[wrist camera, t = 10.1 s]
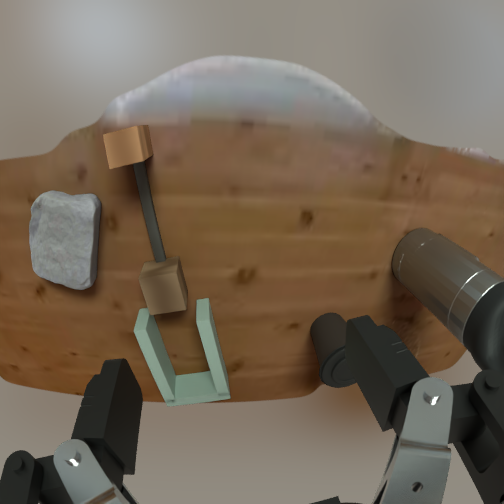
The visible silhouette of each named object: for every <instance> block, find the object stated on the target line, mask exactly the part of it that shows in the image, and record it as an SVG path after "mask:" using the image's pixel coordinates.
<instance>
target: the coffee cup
mask: <svg viewBox="0 0 504 504" xmlns="http://www.w3.org/2000/svg"><path fill="white" fill-rule="evenodd" d="M346 324H347V323H346V322H345V321H344V319H343V318H342V317H341V316H340V315H338V314H336V313H327V314H324V315H321V316H320V317H318V318H317V319H316V320H315V321H314V322H313V324H312V326H311V336H312V340H313V343H314V347H315V350H316V354H317V357H318V361H319V365H320V370H319V376H320V379H321V381H322V382H324V383H325V384H326V385H329V386H331V387H335V388H340V387H346V386H350V385H352V384H354V383H356V380H355V378H354V376H353V374H352V372H351V371H350V369H349V367H348V365H347V362H346V357H345V342H346Z"/></svg>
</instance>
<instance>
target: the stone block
mask: <svg viewBox="0 0 504 504" xmlns="http://www.w3.org/2000/svg"><path fill="white" fill-rule="evenodd" d="M31 214H32V217H31V221H30V226H29V234H30V240H29V242H30V249H31V259H32V265H33V269H34V272H35V273H36V274H37V275H38V276H40V277H42V278H45V279H47V280H49V281H52V282H54V283H59V284H63V285H65V286H67V287H70V288H73V289H77V290H83V289H86V288H89V287H91V286H92V285H93V283H94V281H95V279H96V277H97V256H98V239H99V224H100V214H101V202H100V200H99V199H98V197H97V196H96V195H94V194H82V195H74V196H73V195H68V194H65V193H63V192H58V191H49V192H45V193H43V194H41V195H40V196H39V197H38V198H37V199H36V200H35V201H34V204H33V205H32V207H31Z"/></svg>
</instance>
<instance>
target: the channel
mask: <svg viewBox="0 0 504 504" xmlns="http://www.w3.org/2000/svg"><path fill="white" fill-rule="evenodd" d="M196 322H197V326H198V330H199V333H200V337H201V340H202V344H203V347H204V351H205V354H206V357H207V361H208V364H209V367H210V371H207V372H200V373H193V374H186V375H178V376H176V374H175V372H174V369H173V367H172V364H171V362H170V359H169V357H168V354H167V351H166V349H165V346H164V343H163V341H162V338H161V335H160V332H159V330H158V327H157V324H156V321H155V318H154V315H150V313H149V310H148V308H143V309H140V310H139V314H138V317H137V321H136V325H135V328H134V333H135V335H136V338H137V340H138V343H139V345H140V347H141V350H142V352H143V354H144V357H145V359H146V361H147V364H148V366H149V368H150V370H151V372H152V375H153V377H154V379H155V381H156V383H157V385H158V388H159V390H160V392H161V394H162V396H163V398H164V400H165V402H166V404H167V406H178V405H186V404H195V403H203V402H211V401H218V400H224V399H231V398H230V390H229V382H228V375H227V371H226V367H225V363H224V359H223V356H222V352H221V348H220V344H219V340H218V336H217V332H216V327H215V323H214V319H213V315H212V311H211V306H210V302H209V298H205V299H199V300H197V310H196Z"/></svg>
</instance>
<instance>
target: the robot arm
mask: <svg viewBox="0 0 504 504" xmlns="http://www.w3.org/2000/svg"><path fill="white" fill-rule="evenodd" d="M392 269H393V273H394V275H395V277H396V278H397V279H398V280H399V281H400V282H401V283H402V284H403V285H404V286H405V287H406V288H407V289H408V290H409V291H410V292H411V293H412V294H413V295H414V296H415V297H416V298H417V299H418V300H419V301H420V302H421V303H422V304H423V305H424V306H425V307H427V308H428V309H429V310H430V311H431V312H432V313H433V314H434V315H435V316H436V317H437V318H438V319H439V320H440V322H441V323H442V324H443V325H444V326H445V327H446V328H447V329H448V330H449V331H450V332H451V333H452V334H453V335H454V336H455V337H456V338H457V339H458V340H459V341H460V342H461V343H462V344H463V345H464V346H465V347H466V348H467V349H468V351H469V352H470V353H471V355H472V357H473V359H474V360H475V362H476V363H477V365H478V366H479V367H480V368H481V369H482V371H481V372H479V373H478V374H477V375H476V377H475V379H474V381H473V383H469V384H462V385H456V386H450V385H449V384H448V383H447V382H445V381H444V380H441V379H439V378H434V377H429V375H428V374H427V373H426V371H425V370H424V369H423V367H422V366H421V365H420V363H419V362H418V361H417V359H416V358H415V357H414V356H413V354H412V353H411V352H410V350H408V349H407V347H406V345H405V344H404V343H402V340H401V339H400V338H399V336H398V335H397V334H396V333H395V331H393V330H391V329H390V328H388V327H386V326H384V325H380V326H376V324H375V323H374V322H373V320H372V319H371V318H370V316H368V315H365V316H361V317H357V318H353V319H349V320H348V321H347V324H346V342H345V357H346V362H347V365H348V367H349V369H350V371H351V372H352V374H353V376H354V378H355V380H356V382H357V383H358V385H359V387H360V389H361V391H362V393H363V395H364V397H365V398H366V400H367V402H368V404H369V406H370V408H371V410H372V412H373V414H374V415H375V417H376V419H377V421H378V423H379V425H380V427H381V429H382V431H386V430H389V429H392V428H393V429H394V431H395V433H396V436H395V439H394V443H393V446H392V449H391V453H390V456H389V459H388V462H387V465H386V468H385V471H384V474H383V477H382V480H381V483H380V485H379V488H378V490H377V492H376V494H375V497H374V499H373V502H372V504H441V503H442V499H443V495H444V490H445V486H446V481H447V476H448V471H449V466H450V460H451V449H450V448H448V444H449V443H453V444H454V446H455V448H456V450H457V451H458V453H459V455H460V457H461V459H462V461H463V463H464V465H465V467H466V468H467V470H468V472H469V474H470V476H471V478H472V480H473V482H474V484H475V486H476V488H477V490H478V492H479V494H480V496H481V498H482V500H483V502H484V504H504V278H503V277H501V276H500V275H498V274H497V273H495V272H494V271H492V270H491V269H490V268H488V267H487V266H485V265H484V264H482V263H481V262H479V259H478V258H477V257H476V256H475V255H473V254H472V253H470V252H468V251H467V250H465V249H464V248H462V247H461V246H459V245H457V244H456V243H454V242H453V241H451V240H449V239H448V238H446V237H444V236H443V235H441V234H436V233H434V232H433V231H431V230H429V229H425V228H420V229H416V230H414V231H411V232H410V233H408V234H407V235H406V236H405V237H404V238H403V239H402V240H401V242H400V243H399V244H398V246H397V248H396V250H395V253H394V256H393V261H392ZM142 403H143V398H142V392H141V388H140V386H139V384H138V382H137V380H136V378H135V376H134V374H133V372H132V370H131V368H130V366H129V364H128V362H127V360H126V359H124V358H123V359H113V360H105V361H104V363H103V366H102V370H101V373H100V374H98V375H94V377H93V378H92V379H91V380H90V382H89V383H88V384H87V387H86V390H85V393H84V398H83V400H82V402H81V407H80V409H79V412H78V416H77V419H76V423H75V426H74V430H73V433H72V437H71V440H67V441H65V442H63V443H62V444H61V445H59V447H58V448H57V449H56V451H55V453H54V455H51V456H47V457H42V458H38V459H35V458H34V457H33V456H32V455H31V454H29V453H28V452H26V451H23V450H20V451H16V452H14V453H12V454H11V455H10V456H9V457H8V458H7V460H6V462H5V465H4V469H3V473H2V476H1V480H0V504H38V503H40V504H139V503H138V502H137V500H136V499H135V498H134V497H133V495H132V494H131V493H130V491H129V490H128V489H127V487H126V486H125V485H124V484H123V474H131V475H134V473H135V462H136V451H137V443H138V433H139V426H140V418H141V410H142ZM311 504H360V503H340V501H339V498H338V496H337V497H333V498H330V499H327V500H323V501H319V502H315V503H311Z"/></svg>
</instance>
